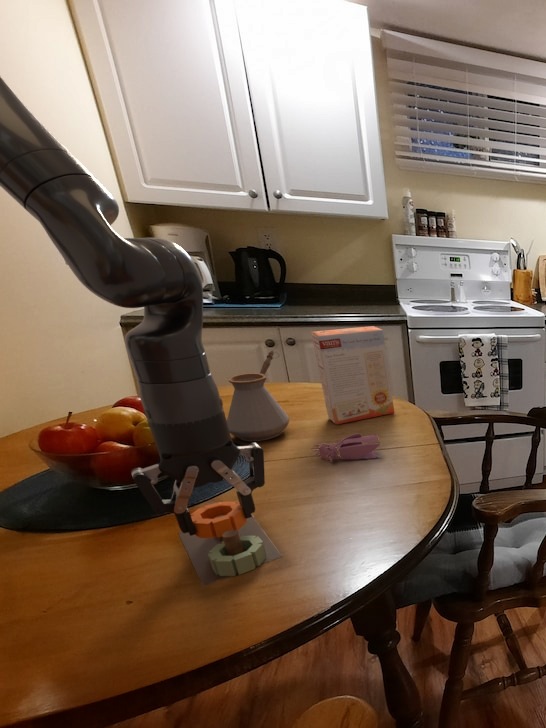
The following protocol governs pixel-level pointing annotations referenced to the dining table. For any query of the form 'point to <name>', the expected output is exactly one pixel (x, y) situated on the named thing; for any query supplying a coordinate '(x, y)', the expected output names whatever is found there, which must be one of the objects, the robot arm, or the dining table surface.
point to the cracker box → (353, 373)
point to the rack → (233, 544)
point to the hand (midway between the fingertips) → (220, 523)
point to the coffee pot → (255, 407)
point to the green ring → (238, 557)
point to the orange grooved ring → (218, 519)
